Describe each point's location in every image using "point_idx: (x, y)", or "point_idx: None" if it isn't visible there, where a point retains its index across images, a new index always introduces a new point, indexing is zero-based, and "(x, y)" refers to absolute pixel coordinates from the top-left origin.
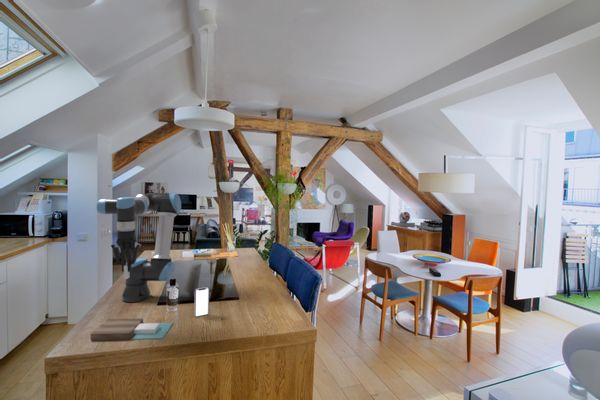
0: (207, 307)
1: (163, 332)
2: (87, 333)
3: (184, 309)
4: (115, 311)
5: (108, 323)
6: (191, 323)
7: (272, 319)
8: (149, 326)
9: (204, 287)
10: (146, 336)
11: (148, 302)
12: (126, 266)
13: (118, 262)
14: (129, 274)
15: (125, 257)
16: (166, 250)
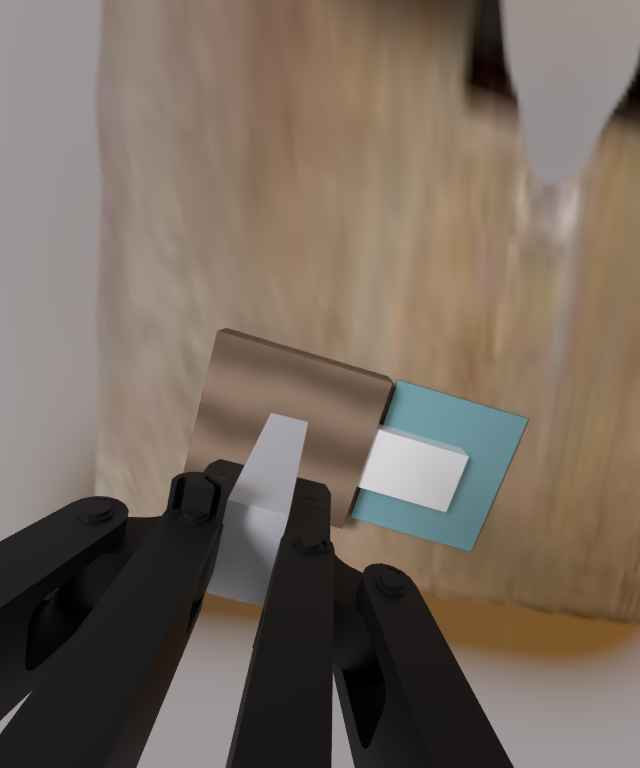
0: None
1: (477, 504)
2: (157, 394)
3: (615, 237)
4: (222, 134)
5: (230, 393)
6: (612, 441)
7: None
8: (423, 476)
9: None
10: (407, 517)
11: (407, 19)
12: (255, 594)
13: (75, 620)
14: (304, 438)
15: (161, 663)
16: None
